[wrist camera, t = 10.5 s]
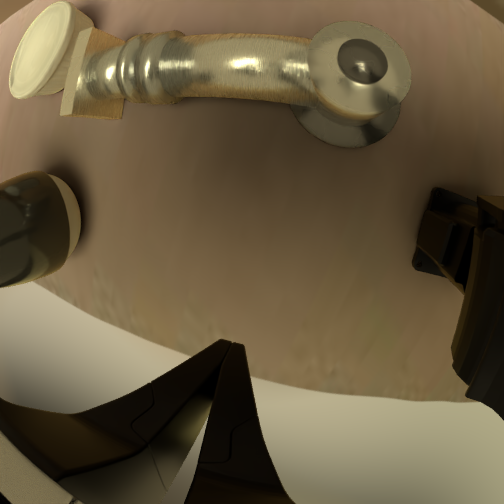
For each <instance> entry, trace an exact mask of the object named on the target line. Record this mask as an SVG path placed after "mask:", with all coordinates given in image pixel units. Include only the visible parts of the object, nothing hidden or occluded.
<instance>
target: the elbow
mask: <svg viewBox="0 0 504 504" xmlns="http://www.w3.org/2000/svg"><path fill="white" fill-rule="evenodd" d="M134 80H135V85H136V88H137V90H138V93H139V95H140V96H141V98H142V99H143V100H144V101H145V102H147V103H149V104H152V105H156V104H176V103H178V102H180V101H181V100H182V99H183V98H184V97H224V98H241V99H253V100H264V101H273V102H281V103H288V104H295V105H301V106H307V107H313V108H315V109H316V110H317V111H318V112H319V113H320V114H321V115H322V116H323V117H325V118H326V119H328V120H329V121H331V122H333V123H336V124H338V125H342V126H350V127H353V126H360V125H364V124H366V123H368V122H370V121H372V120H373V119H375V118H376V117H378V116H380V115H381V114H383V113H385V112H386V111H388V110H389V109H391V108H393V107H394V106H396V105H397V104H399V103H400V102H401V101H402V100H403V99H404V98H405V96H406V95H407V93H408V91H409V88H410V85H411V69H410V65H409V62H408V59H407V57H406V55H405V53H404V52H403V50H402V49H401V47H400V46H399V45H398V44H397V43H396V42H395V41H394V39H392V38H391V37H390V36H389V35H388V34H386V33H385V32H383V31H382V30H380V29H378V28H376V27H374V26H371V25H368V24H365V23H361V22H355V21H342V22H336V23H333V24H330V25H328V26H326V27H324V28H322V29H321V30H320V31H319V32H317V34H316V35H315V36H314V37H313V39H308V38H301V37H292V36H282V35H269V34H242V33H231V34H204V35H191V36H185V35H184V34H183V33H182V32H180V31H168V32H162V33H156V34H152V35H150V36H148V37H147V38H146V39H145V40H144V41H143V42H142V43H141V45H140V47H139V49H138V51H137V53H136V57H135V62H134Z"/></svg>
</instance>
